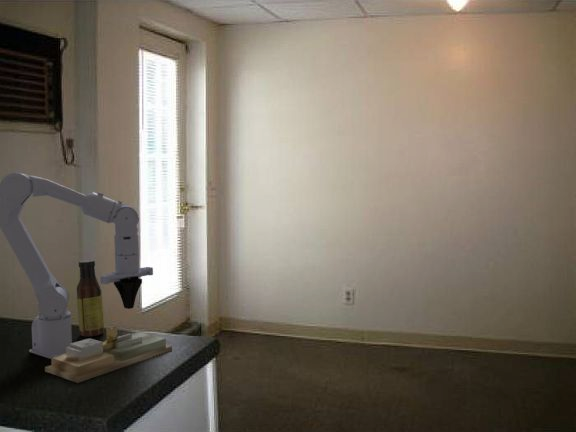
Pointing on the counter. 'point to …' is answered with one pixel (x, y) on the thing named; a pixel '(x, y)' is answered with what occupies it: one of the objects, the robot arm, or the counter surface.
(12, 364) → the counter surface
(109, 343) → the bolt
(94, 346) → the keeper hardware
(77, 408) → the counter surface
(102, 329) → the sauce bottle
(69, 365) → the door and jamb
